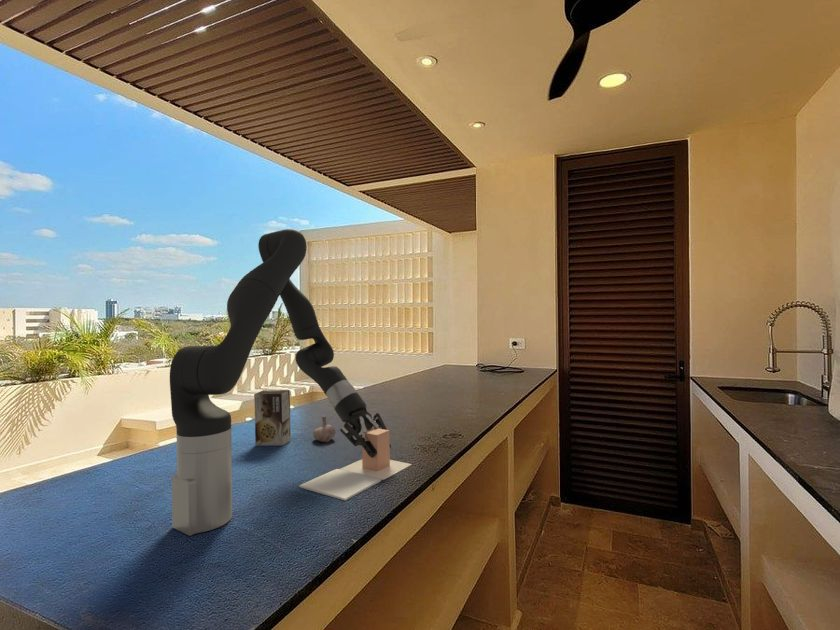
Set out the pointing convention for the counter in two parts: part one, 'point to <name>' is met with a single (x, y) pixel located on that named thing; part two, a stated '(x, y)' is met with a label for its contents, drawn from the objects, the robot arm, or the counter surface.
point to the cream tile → (382, 474)
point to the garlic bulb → (324, 432)
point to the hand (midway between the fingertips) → (381, 452)
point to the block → (382, 446)
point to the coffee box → (272, 417)
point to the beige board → (340, 484)
